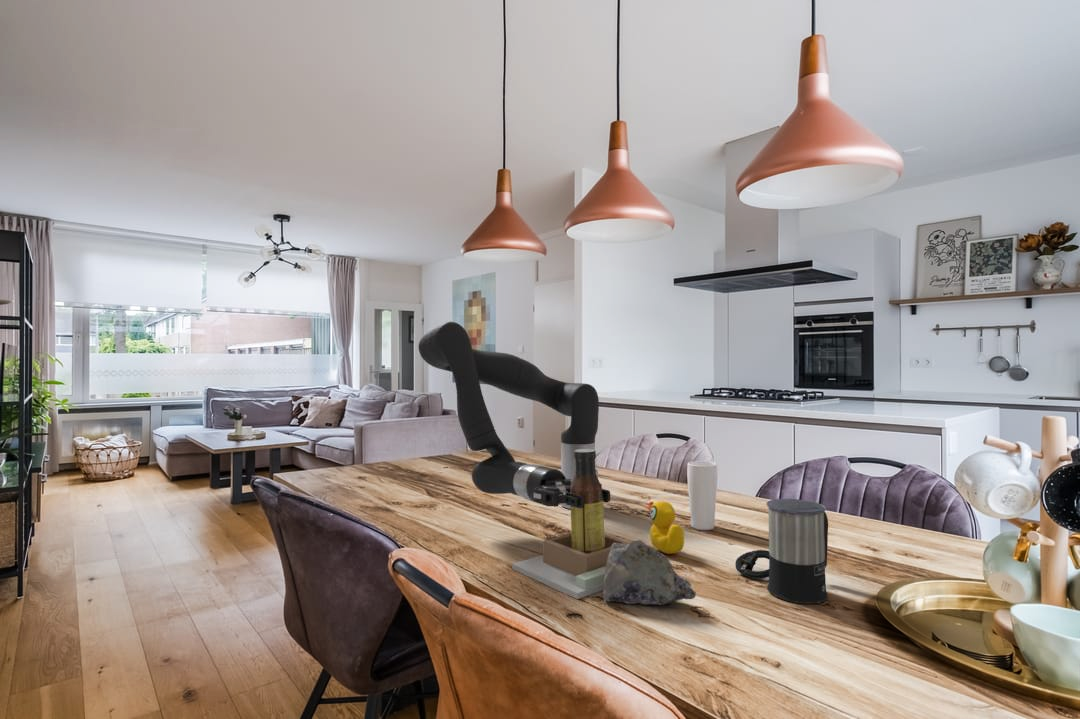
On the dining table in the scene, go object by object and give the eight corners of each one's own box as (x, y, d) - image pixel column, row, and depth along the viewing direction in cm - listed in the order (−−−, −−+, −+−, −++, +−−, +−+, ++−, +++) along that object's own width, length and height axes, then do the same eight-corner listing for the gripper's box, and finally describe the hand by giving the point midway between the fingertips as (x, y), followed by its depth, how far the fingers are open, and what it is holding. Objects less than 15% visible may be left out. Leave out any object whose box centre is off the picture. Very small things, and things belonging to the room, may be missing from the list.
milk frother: (824, 610, 88) (823, 514, 88) (721, 589, 96) (720, 502, 97) (833, 580, 100) (832, 496, 100) (741, 564, 108) (740, 486, 109)
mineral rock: (699, 608, 89) (699, 544, 89) (654, 628, 82) (653, 559, 83) (638, 583, 99) (638, 526, 99) (593, 599, 93) (592, 538, 93)
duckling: (639, 544, 121) (638, 497, 121) (661, 541, 123) (661, 495, 123) (667, 561, 110) (667, 510, 110) (691, 558, 112) (691, 507, 112)
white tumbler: (685, 530, 131) (685, 465, 131) (689, 522, 137) (689, 460, 137) (716, 533, 128) (715, 466, 128) (719, 525, 134) (718, 462, 135)
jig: (595, 545, 120) (595, 521, 120) (663, 568, 106) (663, 541, 106) (512, 569, 107) (512, 542, 107) (577, 599, 93) (577, 568, 93)
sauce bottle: (608, 552, 109) (608, 448, 109) (600, 563, 103) (600, 453, 103) (575, 548, 111) (575, 446, 111) (566, 559, 105) (566, 451, 105)
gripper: (511, 470, 113) (567, 484, 100) (565, 462, 122) (622, 474, 109) (511, 507, 113) (567, 527, 100) (565, 496, 122) (623, 513, 109)
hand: (596, 499), depth 105 cm, fingers closed on sauce bottle, 6 cm apart
